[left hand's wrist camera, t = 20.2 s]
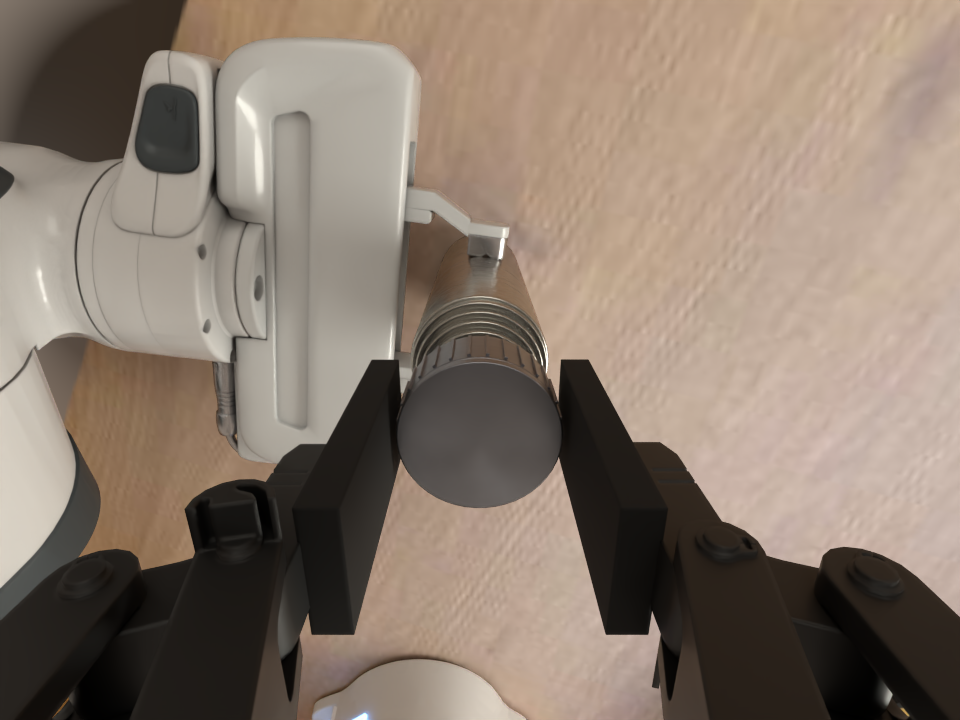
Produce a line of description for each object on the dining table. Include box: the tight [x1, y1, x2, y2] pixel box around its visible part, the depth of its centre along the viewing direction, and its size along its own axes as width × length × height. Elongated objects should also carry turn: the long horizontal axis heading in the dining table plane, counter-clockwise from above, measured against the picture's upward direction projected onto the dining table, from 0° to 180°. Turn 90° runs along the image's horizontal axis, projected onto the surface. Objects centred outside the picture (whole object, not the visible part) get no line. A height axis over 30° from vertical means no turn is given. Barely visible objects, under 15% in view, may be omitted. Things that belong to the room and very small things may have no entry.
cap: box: [396, 335, 563, 508], centre depth 14 cm, size 4×4×2 cm
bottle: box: [411, 235, 548, 375], centre depth 22 cm, size 5×5×19 cm
